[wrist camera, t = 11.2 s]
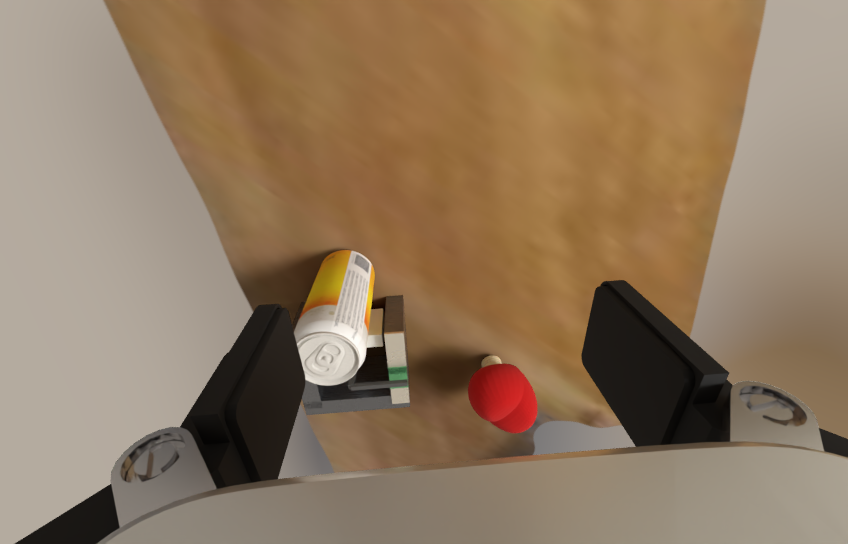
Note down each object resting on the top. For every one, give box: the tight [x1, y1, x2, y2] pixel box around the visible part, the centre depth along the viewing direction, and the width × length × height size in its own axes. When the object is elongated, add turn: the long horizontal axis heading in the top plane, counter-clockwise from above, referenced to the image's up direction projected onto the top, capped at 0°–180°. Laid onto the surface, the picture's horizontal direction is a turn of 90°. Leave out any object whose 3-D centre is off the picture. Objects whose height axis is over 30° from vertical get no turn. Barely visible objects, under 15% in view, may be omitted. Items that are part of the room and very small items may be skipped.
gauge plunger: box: [348, 308, 408, 391], centre depth 41 cm, size 5×10×8 cm, turn 92°
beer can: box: [294, 250, 375, 386], centre depth 35 cm, size 6×6×15 cm
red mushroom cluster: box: [468, 356, 537, 433], centre depth 45 cm, size 9×7×10 cm
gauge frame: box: [292, 295, 410, 415], centre depth 43 cm, size 11×12×7 cm
